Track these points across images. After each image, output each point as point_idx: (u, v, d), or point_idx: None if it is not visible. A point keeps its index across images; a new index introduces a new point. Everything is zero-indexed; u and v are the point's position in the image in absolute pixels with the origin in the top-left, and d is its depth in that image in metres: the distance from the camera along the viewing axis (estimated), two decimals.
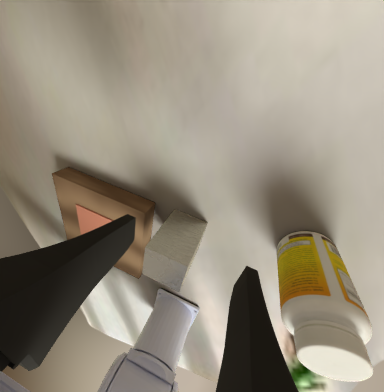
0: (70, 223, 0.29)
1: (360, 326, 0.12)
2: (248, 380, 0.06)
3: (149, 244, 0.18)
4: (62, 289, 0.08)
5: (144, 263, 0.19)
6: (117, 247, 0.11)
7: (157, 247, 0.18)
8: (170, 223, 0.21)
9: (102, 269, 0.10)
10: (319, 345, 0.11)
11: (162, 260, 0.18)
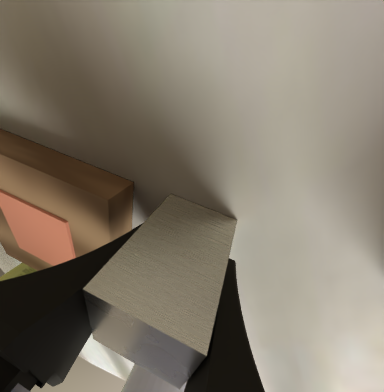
0: None
1: None
2: (208, 358, 0.06)
3: (98, 279, 0.07)
4: None
5: (92, 322, 0.08)
6: None
7: (118, 287, 0.07)
8: (159, 222, 0.10)
9: None
10: None
11: (133, 325, 0.06)
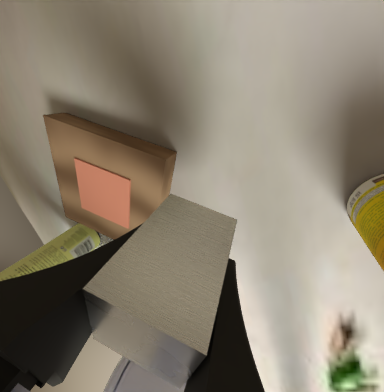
0: (67, 187, 0.23)
1: None
2: (208, 358, 0.06)
3: (98, 278, 0.07)
4: None
5: (92, 322, 0.08)
6: None
7: (118, 287, 0.07)
8: (159, 222, 0.10)
9: None
10: None
11: (133, 325, 0.06)
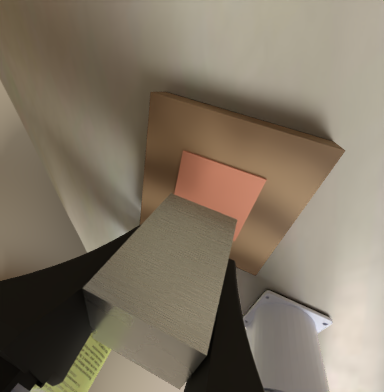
0: (156, 189, 0.18)
1: None
2: (209, 358, 0.06)
3: (98, 278, 0.07)
4: None
5: (92, 321, 0.08)
6: None
7: (118, 286, 0.06)
8: (159, 221, 0.10)
9: None
10: None
11: (132, 324, 0.06)
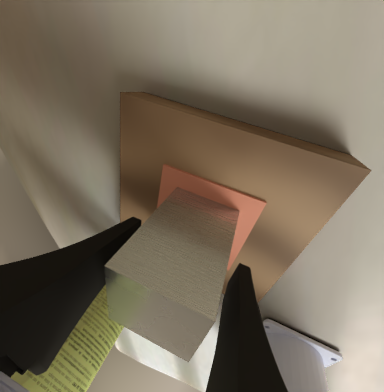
0: (135, 207, 0.15)
1: None
2: (235, 373, 0.06)
3: (116, 258, 0.07)
4: (70, 293, 0.07)
5: (109, 299, 0.08)
6: None
7: (135, 265, 0.07)
8: (168, 211, 0.10)
9: None
10: None
11: (148, 298, 0.07)
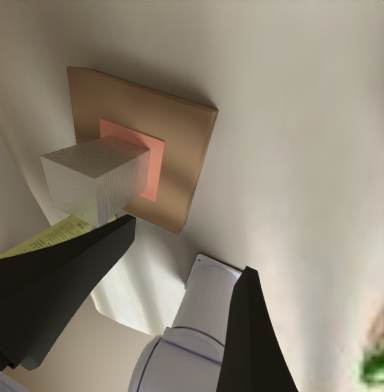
0: None
1: None
2: (248, 380, 0.06)
3: (49, 154, 0.13)
4: (62, 289, 0.08)
5: (49, 186, 0.14)
6: (117, 247, 0.11)
7: (59, 158, 0.13)
8: (95, 143, 0.16)
9: (102, 269, 0.10)
10: None
11: (65, 174, 0.13)
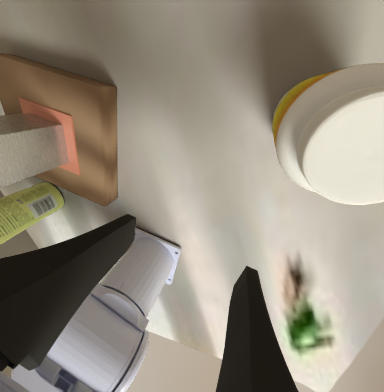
0: None
1: None
2: (248, 380, 0.06)
3: None
4: (62, 289, 0.08)
5: None
6: (117, 247, 0.11)
7: None
8: (6, 117, 0.18)
9: (102, 269, 0.10)
10: (347, 104, 0.06)
11: None
